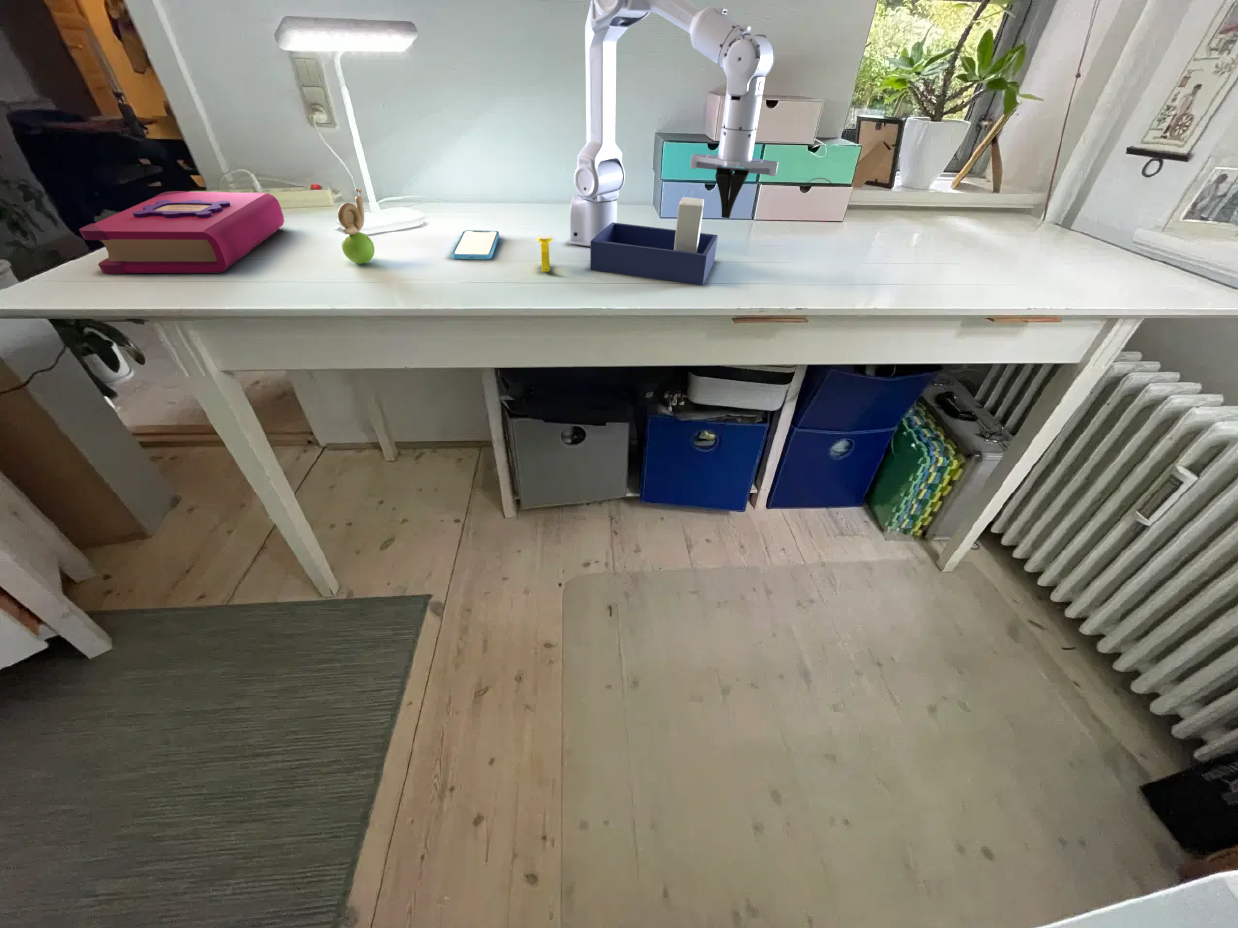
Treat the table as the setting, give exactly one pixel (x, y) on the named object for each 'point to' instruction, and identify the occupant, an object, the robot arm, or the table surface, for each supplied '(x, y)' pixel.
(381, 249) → the table surface
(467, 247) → the smartphone
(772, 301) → the table surface
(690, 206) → the cosmetic box
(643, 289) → the table surface
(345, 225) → the snail figurine
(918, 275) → the table surface
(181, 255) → the book
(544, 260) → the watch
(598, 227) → the robot arm
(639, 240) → the bin
